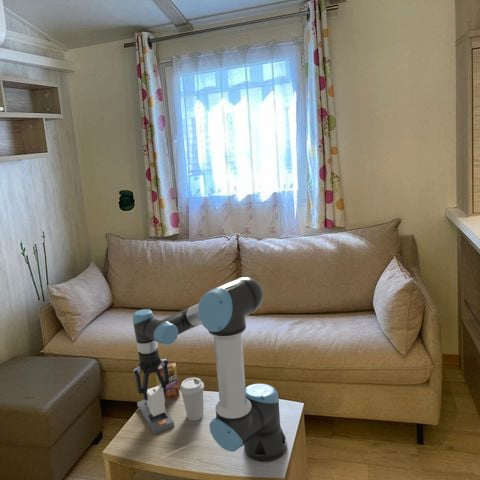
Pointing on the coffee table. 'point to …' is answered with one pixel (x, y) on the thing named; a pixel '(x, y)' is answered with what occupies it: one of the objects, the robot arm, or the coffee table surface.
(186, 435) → the coffee table surface
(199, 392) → the coffee cup
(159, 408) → the block
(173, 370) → the candy box
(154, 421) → the power strip
